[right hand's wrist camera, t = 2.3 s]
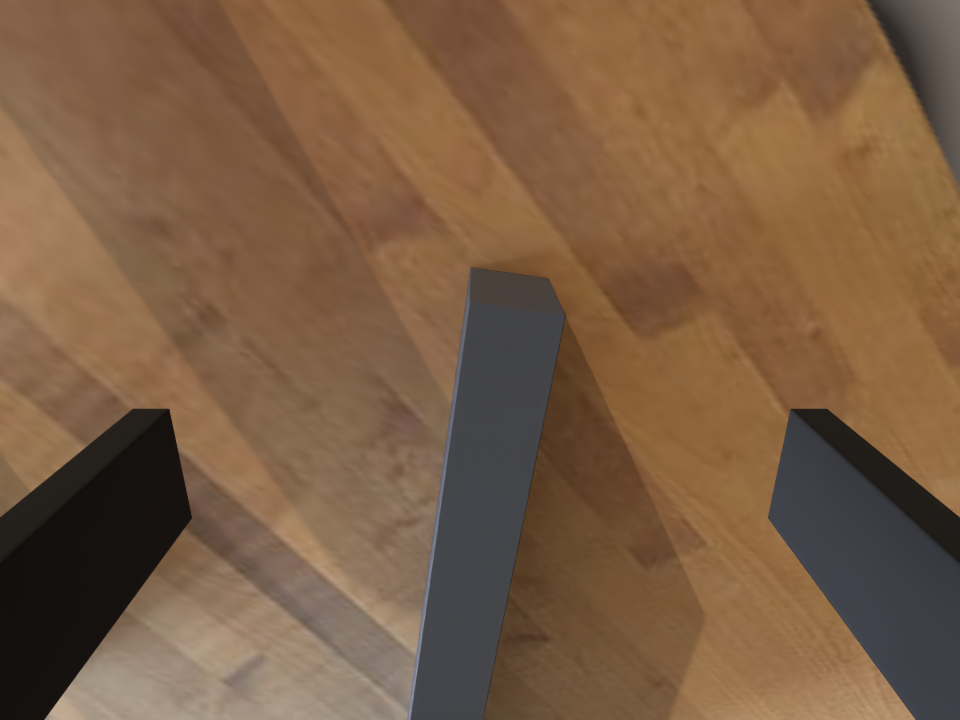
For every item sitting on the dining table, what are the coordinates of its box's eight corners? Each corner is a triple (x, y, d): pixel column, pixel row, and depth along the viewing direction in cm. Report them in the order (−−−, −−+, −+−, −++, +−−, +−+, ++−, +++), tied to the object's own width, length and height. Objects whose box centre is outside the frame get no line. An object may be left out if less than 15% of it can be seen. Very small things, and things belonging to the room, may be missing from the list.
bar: (470, 267, 38) (469, 301, 31) (548, 278, 38) (566, 315, 31) (396, 796, 56) (384, 897, 49) (449, 801, 56) (445, 902, 49)
